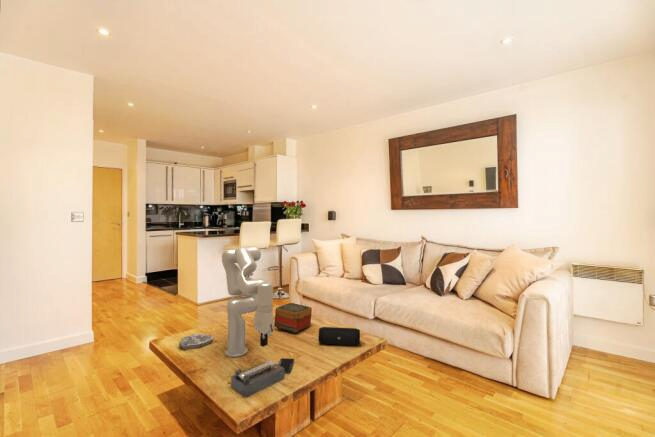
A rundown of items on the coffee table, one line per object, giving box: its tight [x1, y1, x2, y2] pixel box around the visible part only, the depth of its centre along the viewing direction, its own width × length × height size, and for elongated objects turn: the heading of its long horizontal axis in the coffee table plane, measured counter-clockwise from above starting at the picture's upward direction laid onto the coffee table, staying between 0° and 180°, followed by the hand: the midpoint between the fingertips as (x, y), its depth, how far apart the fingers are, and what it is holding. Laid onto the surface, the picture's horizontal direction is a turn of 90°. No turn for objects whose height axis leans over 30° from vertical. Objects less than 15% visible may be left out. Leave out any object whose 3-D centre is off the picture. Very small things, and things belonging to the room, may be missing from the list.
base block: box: [230, 361, 286, 398], centre depth 146 cm, size 22×12×8 cm, turn 138°
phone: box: [278, 357, 295, 375], centre depth 162 cm, size 8×1×15 cm
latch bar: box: [237, 359, 277, 380], centre depth 145 cm, size 18×5×2 cm, turn 138°
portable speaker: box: [318, 326, 361, 346], centre depth 192 cm, size 26×10×10 cm, turn 85°
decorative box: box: [274, 302, 313, 334], centre depth 216 cm, size 20×22×16 cm
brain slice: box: [178, 333, 214, 350], centre depth 189 cm, size 20×17×3 cm
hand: (263, 345), depth 148 cm, fingers closed
